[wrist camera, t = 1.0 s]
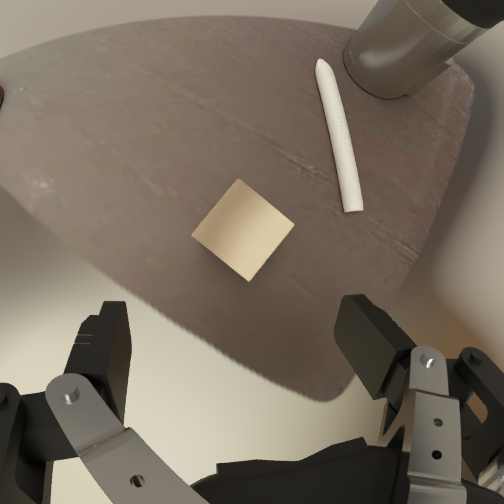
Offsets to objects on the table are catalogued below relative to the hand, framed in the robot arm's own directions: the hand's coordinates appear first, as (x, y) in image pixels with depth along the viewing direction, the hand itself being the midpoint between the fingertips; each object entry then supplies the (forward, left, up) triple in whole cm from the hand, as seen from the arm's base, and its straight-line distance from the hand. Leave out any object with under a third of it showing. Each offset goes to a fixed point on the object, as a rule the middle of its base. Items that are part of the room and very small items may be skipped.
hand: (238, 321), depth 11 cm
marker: (-11, -16, -20) cm, 27 cm away
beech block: (-1, -4, -19) cm, 19 cm away
